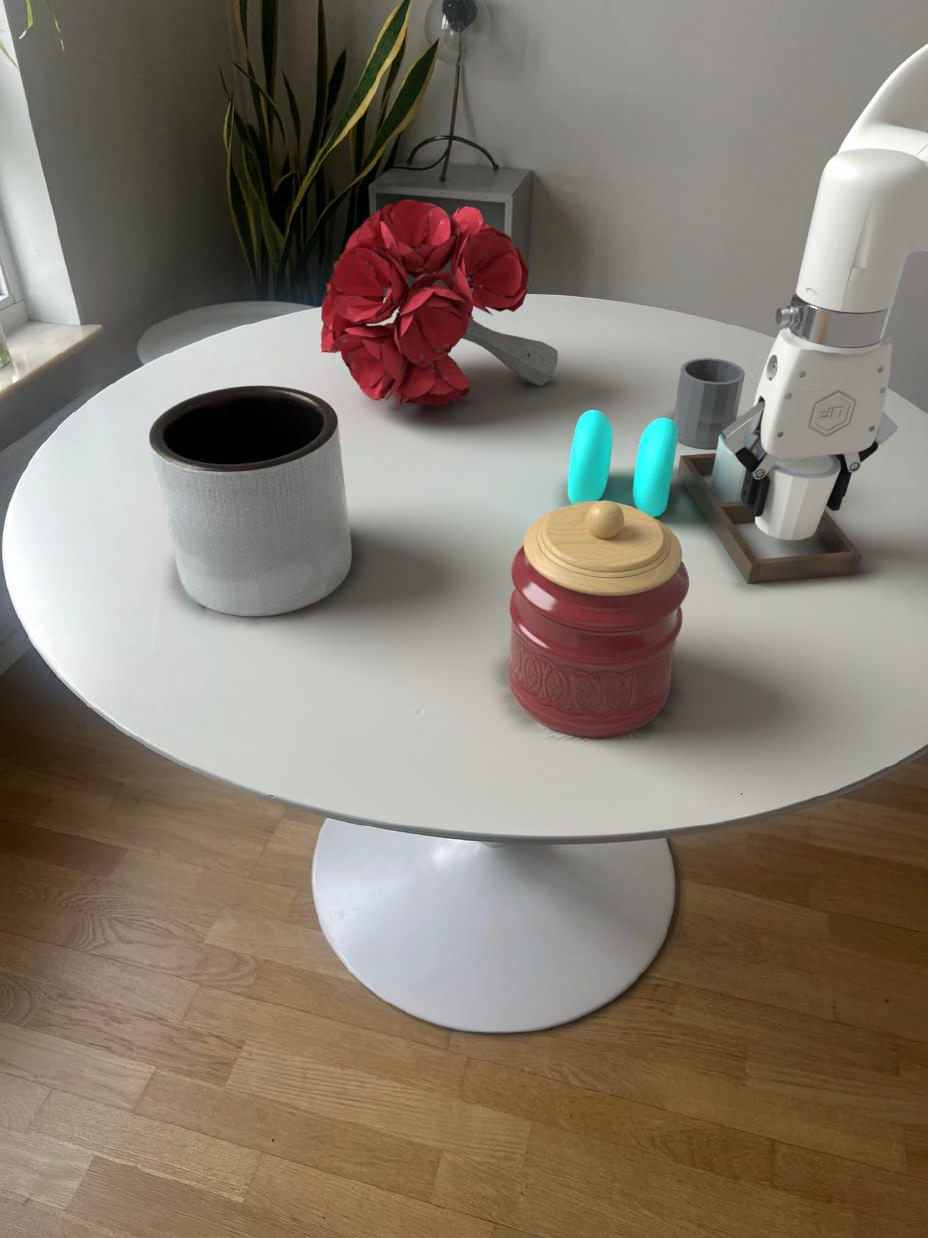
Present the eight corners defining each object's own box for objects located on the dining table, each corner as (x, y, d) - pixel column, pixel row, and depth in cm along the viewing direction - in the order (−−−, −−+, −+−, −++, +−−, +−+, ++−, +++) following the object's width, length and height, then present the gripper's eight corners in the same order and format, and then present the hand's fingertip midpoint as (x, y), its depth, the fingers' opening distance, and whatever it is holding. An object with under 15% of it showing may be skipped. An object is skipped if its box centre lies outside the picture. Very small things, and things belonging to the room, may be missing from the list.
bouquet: (483, 394, 134) (288, 307, 120) (576, 246, 121) (370, 129, 107) (518, 479, 118) (298, 390, 104) (628, 319, 106) (396, 193, 92)
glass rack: (768, 473, 103) (774, 448, 101) (853, 582, 87) (862, 555, 85) (676, 480, 102) (680, 455, 100) (745, 592, 86) (751, 564, 84)
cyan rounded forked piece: (661, 538, 93) (676, 448, 87) (562, 524, 95) (569, 436, 89) (669, 487, 101) (683, 402, 94) (577, 476, 102) (584, 391, 96)
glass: (758, 483, 101) (772, 425, 97) (784, 517, 96) (799, 456, 92) (698, 488, 100) (709, 429, 96) (720, 522, 95) (733, 461, 91)
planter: (149, 609, 84) (107, 455, 74) (229, 516, 96) (203, 374, 86) (314, 639, 81) (293, 483, 71) (376, 539, 93) (366, 394, 83)
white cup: (837, 536, 87) (857, 470, 82) (773, 549, 85) (790, 482, 81) (795, 499, 92) (812, 435, 87) (734, 511, 90) (748, 446, 86)
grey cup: (719, 419, 113) (731, 356, 108) (740, 446, 108) (754, 381, 103) (663, 422, 112) (673, 359, 107) (682, 450, 107) (693, 385, 102)
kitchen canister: (667, 647, 80) (699, 465, 69) (667, 757, 70) (705, 566, 59) (516, 631, 82) (524, 451, 71) (496, 737, 72) (501, 547, 61)
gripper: (753, 342, 72) (714, 535, 83) (962, 331, 74) (897, 520, 85) (719, 307, 78) (687, 492, 89) (914, 297, 80) (858, 479, 91)
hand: (790, 504), depth 87 cm, fingers closed on white cup, 6 cm apart
